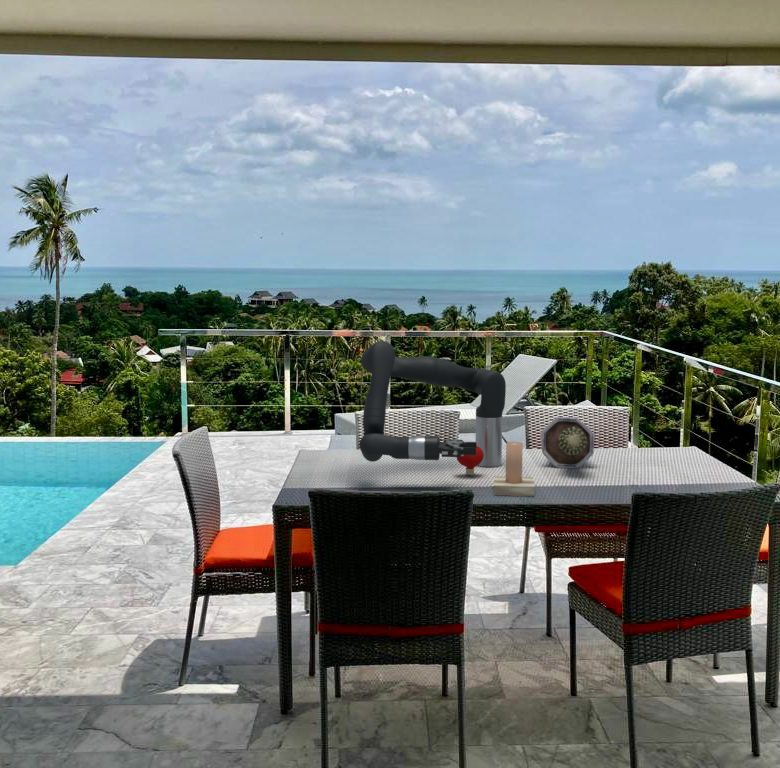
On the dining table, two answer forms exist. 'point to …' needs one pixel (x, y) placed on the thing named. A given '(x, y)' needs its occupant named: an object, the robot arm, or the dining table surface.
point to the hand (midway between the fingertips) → (476, 448)
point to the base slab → (514, 487)
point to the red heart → (471, 461)
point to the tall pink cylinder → (514, 462)
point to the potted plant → (567, 442)
